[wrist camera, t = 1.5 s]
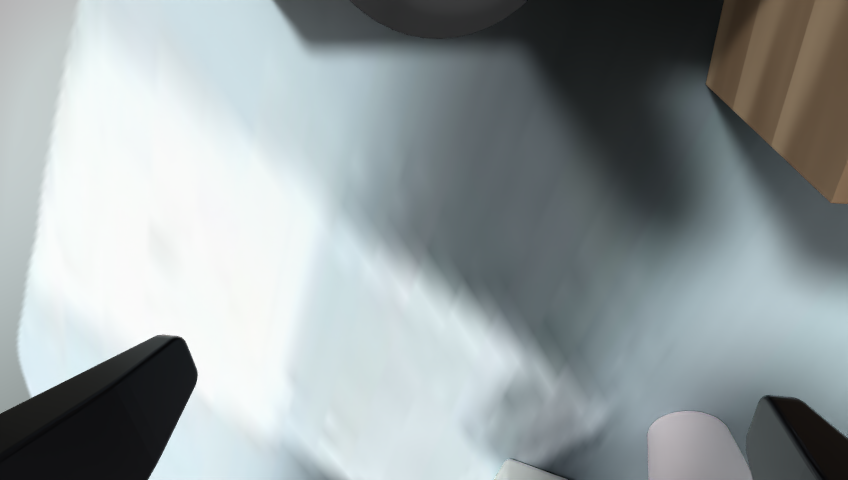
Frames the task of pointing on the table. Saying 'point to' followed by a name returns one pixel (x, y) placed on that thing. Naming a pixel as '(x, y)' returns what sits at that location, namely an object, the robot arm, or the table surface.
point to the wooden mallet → (789, 82)
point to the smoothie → (693, 449)
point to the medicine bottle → (523, 472)
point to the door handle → (438, 15)
